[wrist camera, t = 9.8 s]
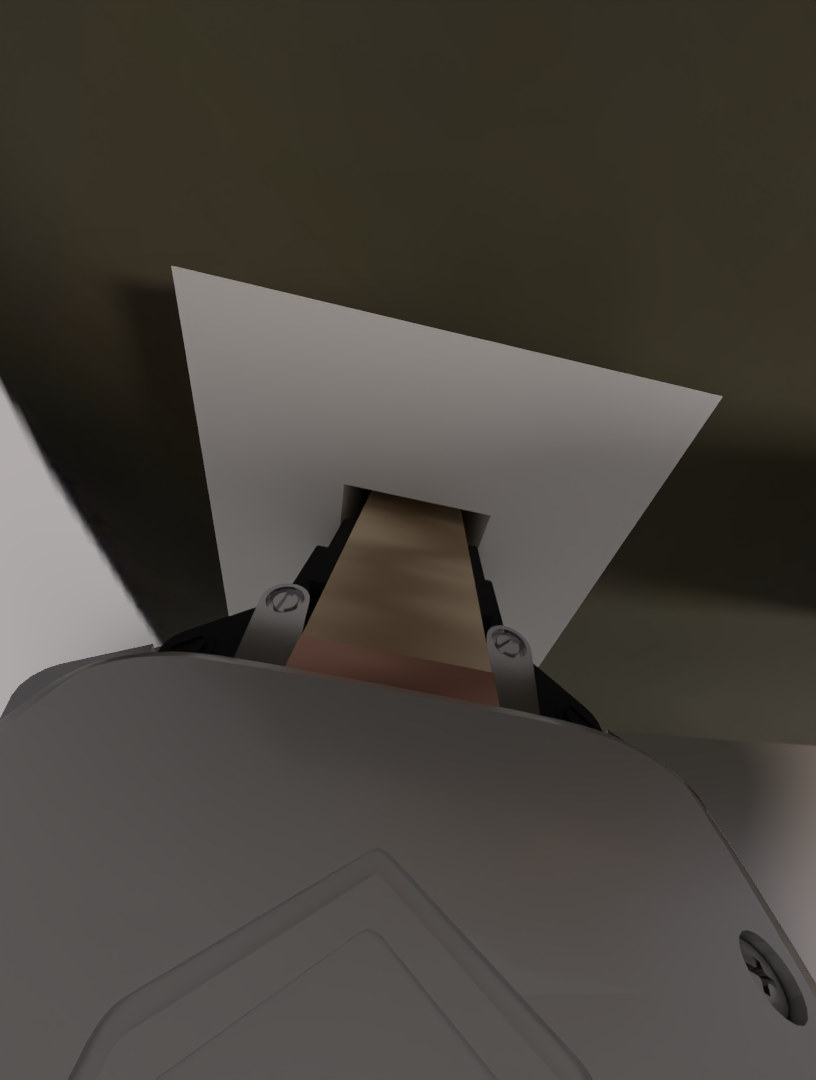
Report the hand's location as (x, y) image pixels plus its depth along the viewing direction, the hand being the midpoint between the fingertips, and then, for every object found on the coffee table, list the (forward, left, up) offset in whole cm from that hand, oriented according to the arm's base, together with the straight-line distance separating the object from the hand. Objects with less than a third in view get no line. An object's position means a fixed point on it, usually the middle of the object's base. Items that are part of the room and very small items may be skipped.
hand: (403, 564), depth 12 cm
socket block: (0, 0, -5) cm, 5 cm away
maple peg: (0, 0, -3) cm, 3 cm away
